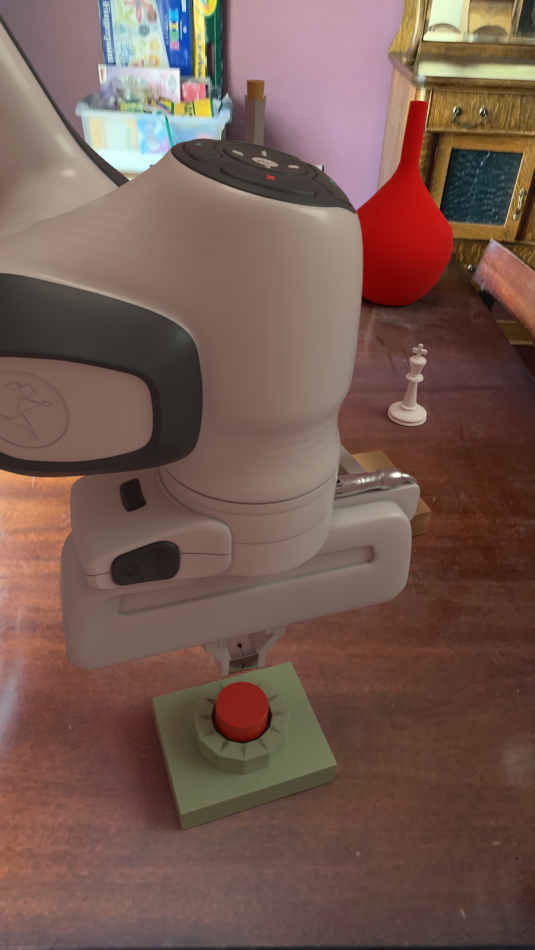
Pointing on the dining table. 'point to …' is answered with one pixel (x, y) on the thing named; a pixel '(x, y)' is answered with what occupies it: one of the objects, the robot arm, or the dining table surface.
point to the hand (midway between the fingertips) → (238, 663)
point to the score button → (241, 711)
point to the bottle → (255, 112)
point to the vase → (404, 228)
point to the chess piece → (411, 395)
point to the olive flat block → (240, 748)
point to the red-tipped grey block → (349, 464)
